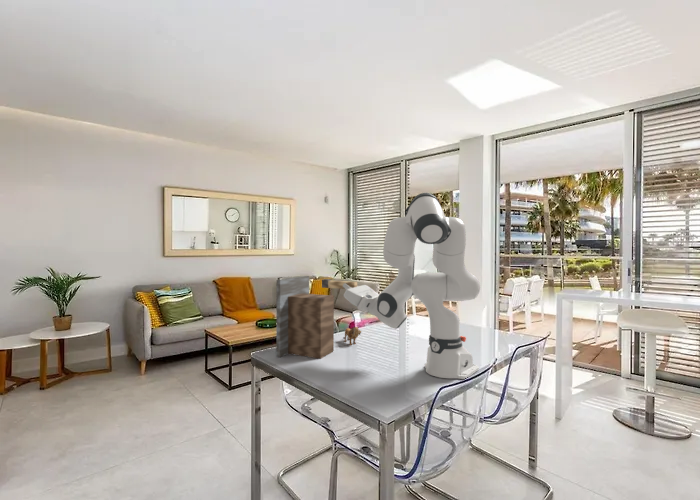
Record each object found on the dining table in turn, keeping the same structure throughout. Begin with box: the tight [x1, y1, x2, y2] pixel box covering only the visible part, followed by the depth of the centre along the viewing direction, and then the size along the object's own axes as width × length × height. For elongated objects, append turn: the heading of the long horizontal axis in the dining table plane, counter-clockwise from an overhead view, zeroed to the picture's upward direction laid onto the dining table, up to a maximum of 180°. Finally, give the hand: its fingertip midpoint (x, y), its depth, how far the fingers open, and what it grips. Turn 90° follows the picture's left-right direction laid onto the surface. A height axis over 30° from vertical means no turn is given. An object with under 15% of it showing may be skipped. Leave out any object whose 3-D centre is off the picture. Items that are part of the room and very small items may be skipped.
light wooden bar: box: [321, 278, 358, 290], centre depth 165 cm, size 16×4×4 cm, turn 64°
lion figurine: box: [342, 326, 362, 346], centre depth 188 cm, size 15×5×9 cm, turn 32°
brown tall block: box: [276, 275, 335, 359], centre depth 171 cm, size 19×24×34 cm
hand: (346, 284), depth 163 cm, fingers closed on light wooden bar, 3 cm apart
